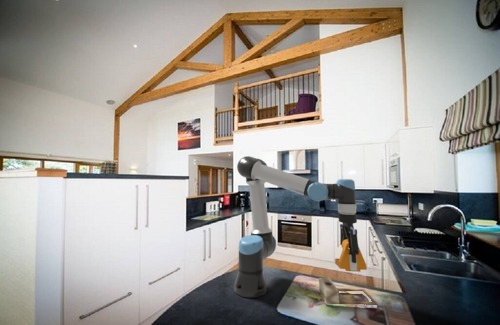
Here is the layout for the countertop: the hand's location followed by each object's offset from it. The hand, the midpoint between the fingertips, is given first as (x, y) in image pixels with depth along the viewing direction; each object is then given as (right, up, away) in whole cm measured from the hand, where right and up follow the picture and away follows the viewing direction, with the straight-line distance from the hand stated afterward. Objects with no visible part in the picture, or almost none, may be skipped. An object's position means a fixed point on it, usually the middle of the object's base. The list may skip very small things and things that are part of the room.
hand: (349, 266), depth 90 cm
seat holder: (-2, -14, -1) cm, 14 cm away
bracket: (0, -1, 0) cm, 1 cm away
